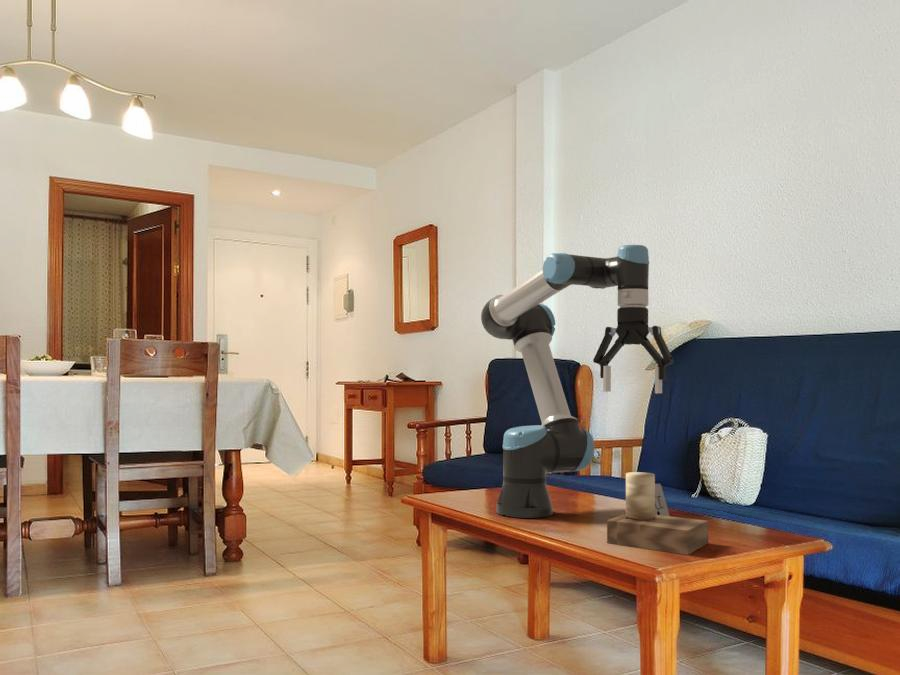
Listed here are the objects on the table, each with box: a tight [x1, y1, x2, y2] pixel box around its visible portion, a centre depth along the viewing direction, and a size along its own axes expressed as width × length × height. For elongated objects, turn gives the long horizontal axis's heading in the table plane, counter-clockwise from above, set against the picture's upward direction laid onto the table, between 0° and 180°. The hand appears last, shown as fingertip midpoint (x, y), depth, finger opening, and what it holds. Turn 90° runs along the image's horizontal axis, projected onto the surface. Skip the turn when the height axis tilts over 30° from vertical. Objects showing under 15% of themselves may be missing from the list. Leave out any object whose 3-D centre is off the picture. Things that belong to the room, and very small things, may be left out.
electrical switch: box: [655, 483, 670, 516], centre depth 193 cm, size 9×5×9 cm, turn 141°
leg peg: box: [625, 471, 656, 522], centre depth 167 cm, size 6×6×14 cm
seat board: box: [606, 513, 709, 556], centre depth 165 cm, size 18×14×5 cm
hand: (632, 392), depth 184 cm, fingers open, 13 cm apart
